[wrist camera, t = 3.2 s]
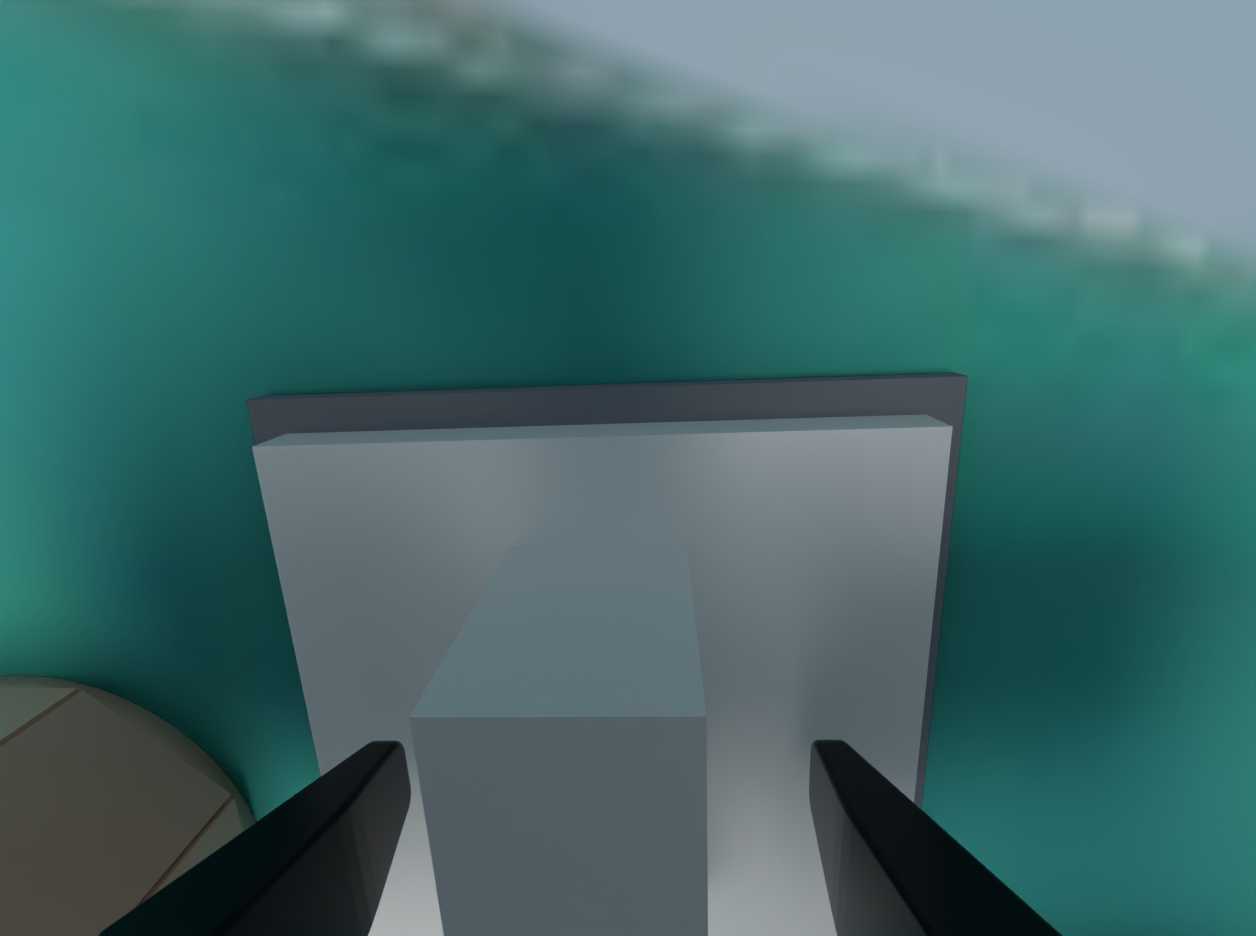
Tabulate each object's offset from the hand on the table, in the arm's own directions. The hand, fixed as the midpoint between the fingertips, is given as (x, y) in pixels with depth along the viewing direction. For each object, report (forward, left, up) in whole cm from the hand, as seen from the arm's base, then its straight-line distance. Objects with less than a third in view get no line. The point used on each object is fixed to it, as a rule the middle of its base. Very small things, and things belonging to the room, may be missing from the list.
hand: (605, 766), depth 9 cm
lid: (0, 0, -1) cm, 1 cm away
